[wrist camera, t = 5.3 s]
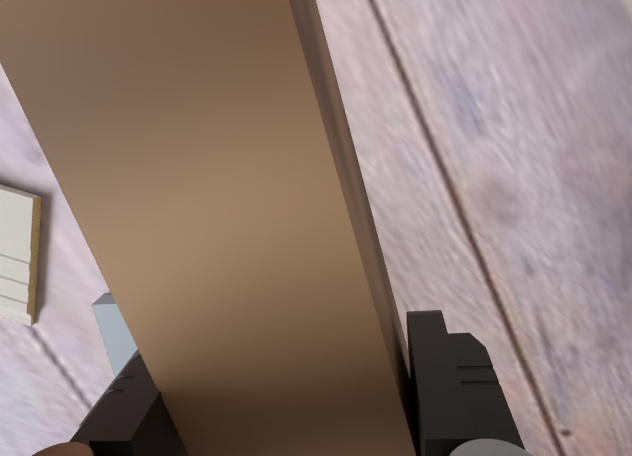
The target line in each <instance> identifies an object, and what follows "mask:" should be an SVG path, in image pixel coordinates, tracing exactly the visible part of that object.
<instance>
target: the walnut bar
mask: <svg viewBox="0 0 632 456" xmlns="http://www.w3.org/2000/svg"><path fill="white" fill-rule="evenodd" d="M0 63H1V65H2V67H3V69H4V71H5V73H6V75H7V77H8V79H9V82H10V84H11V86H12V88H13V90H14V92H15V94H16V96H17V98H18V100H19V102H20V104H21V107H22V109H23V111H24V113H25V115H26V117H27V119H28V121H29V123H30V125H31V127H32V129H33V131H34V134H35V136H36V138H37V140H38V142H39V144H40V146H41V148H42V150H43V152H44V154H45V156H46V159H47V161H48V163H49V165H50V167H51V169H52V171H53V173H54V175H55V177H56V179H57V181H58V183H59V186H60V188H61V190H62V192H63V194H64V196H65V198H66V200H67V202H68V204H69V206H70V208H71V211H72V213H73V215H74V217H75V219H76V221H77V223H78V225H79V227H80V229H81V231H82V233H83V236H84V238H85V240H86V242H87V244H88V246H89V248H90V250H91V252H92V254H93V256H94V258H95V260H96V263H97V265H98V267H99V269H100V271H101V273H102V275H103V277H104V279H105V281H106V283H107V285H108V288H109V290H110V292H111V294H112V296H113V298H114V300H115V302H116V304H117V306H118V308H119V310H120V313H121V315H122V317H123V319H124V321H125V323H126V325H127V327H128V329H129V331H130V333H131V335H132V337H133V340H134V342H135V344H136V346H137V348H138V350H139V352H140V354H141V356H142V358H143V360H144V362H145V365H146V367H147V369H148V371H149V373H150V375H151V377H152V379H153V381H154V383H155V385H156V387H157V389H158V391H161V395H162V398H163V402H164V404H165V406H166V408H167V410H168V412H169V414H170V417H171V419H172V421H173V423H174V425H175V427H176V429H177V431H178V433H179V435H180V437H181V439H182V442H183V444H184V446H185V448H186V450H187V452H188V454H189V456H419V448H418V440H417V431H416V423H415V415H414V407H413V398H412V390H411V382H410V368H409V353H408V349H407V345H406V341H405V338H404V334H403V330H402V326H401V322H400V319H399V315H398V311H397V307H396V303H395V300H394V296H393V292H392V288H391V284H390V281H389V277H388V273H387V269H386V265H385V262H384V258H383V254H382V250H381V246H380V243H379V239H378V235H377V231H376V227H375V224H374V220H373V216H372V212H371V208H370V204H369V201H368V197H367V193H366V189H365V185H364V182H363V178H362V174H361V170H360V166H359V163H358V159H357V155H356V151H355V147H354V144H353V140H352V136H351V132H350V128H349V125H348V121H347V117H346V113H345V109H344V106H343V102H342V98H341V94H340V90H339V87H338V83H337V79H336V75H335V71H334V68H333V64H332V60H331V56H330V52H329V49H328V45H327V41H326V37H325V33H324V30H323V26H322V22H321V18H320V14H319V11H318V7H317V3H316V0H0Z"/></svg>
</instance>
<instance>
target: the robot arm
mask: <svg viewBox="0 0 632 456" xmlns="http://www.w3.org/2000/svg"><path fill="white" fill-rule="evenodd" d="M407 333H408V351H409V368H410V382H411V390H412V398H413V407H414V415H415V423H416V431H417V440H418V448H419V456H533V455H531V454H530V453H529V452H527V451H526V450H525V448H524V445H523V443H522V440H521V438H520V435H519V433H518V430H517V427H516V425H515V422H514V420H513V417H512V414H511V412H510V409H509V407H508V404H507V401H506V399H505V396H504V394H503V391H502V388H501V386H500V385H499V381H498V378H497V375H496V373H495V370H494V369H493V365H492V362H491V360H490V357H489V355H488V352H487V349H486V347H485V346H484V345H482V344H481V343H480V342H479V341H478V340H477V339H476V338H475V337H474V336H472V335H471V334H470V333H454V334H448V333H447V329H446V325H445V322H444V318H443V314H442V311H441V310H433V311H411V312H407ZM32 456H189V454H188V452H187V450H186V448H185V446H184V444H183V442H182V439H181V437H180V435H179V433H178V431H177V429H176V427H175V425H174V423H173V421H172V419H171V417H170V414H169V412H168V410H167V408H166V406H165V404H164V402H163V398H162V395H161V391H158V389H157V387H156V385H155V383H154V381H153V379H152V377H151V375H150V373H149V371H148V369H147V367H146V365H145V362H144V360H143V358H142V356H141V354H138V355H137V356H136V357H134V358H133V359H132V360H131V361H130V362H129V364H128V365H127V366H126V368H125V369H124V370H123V372H122V373H121V374H120V378H119V379H117V380H116V381H115V382H114V384H113V385H112V386H111V387H110V389H109V393H106V394H105V395H104V397H103V398H102V399H101V401H100V402H99V403H98V405H97V406H96V407H95V409H94V410H93V411H92V412H91V414H90V415H89V416H88V418H87V419H86V420H85V422H84V423H83V424H82V426H81V427H80V428H79V430H78V431H77V432H76V434H75V435H74V436H73V437H72V439H71V440H70V441H69V442H66V443H60V444H57V445H53V446H50V447H48V448H45V449H43V450H41V451H39V452H37V453H35V454H34V455H32Z"/></svg>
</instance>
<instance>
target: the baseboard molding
mask: <svg viewBox="0 0 632 456" xmlns="http://www.w3.org/2000/svg"><path fill="white" fill-rule="evenodd" d="M41 205H42V197H41V196H38V195H34V194H31V193H28V192H25V191H21V190H18V189H15V188H11V187H8V186H5V185H1V184H0V317H2V318H5V319H8V320H12V321H15V322H18V323H22V324H25V325H28V326H32V325H33V324H34V321H35V304H36V288H37V271H38V255H39V238H40V222H41Z"/></svg>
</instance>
